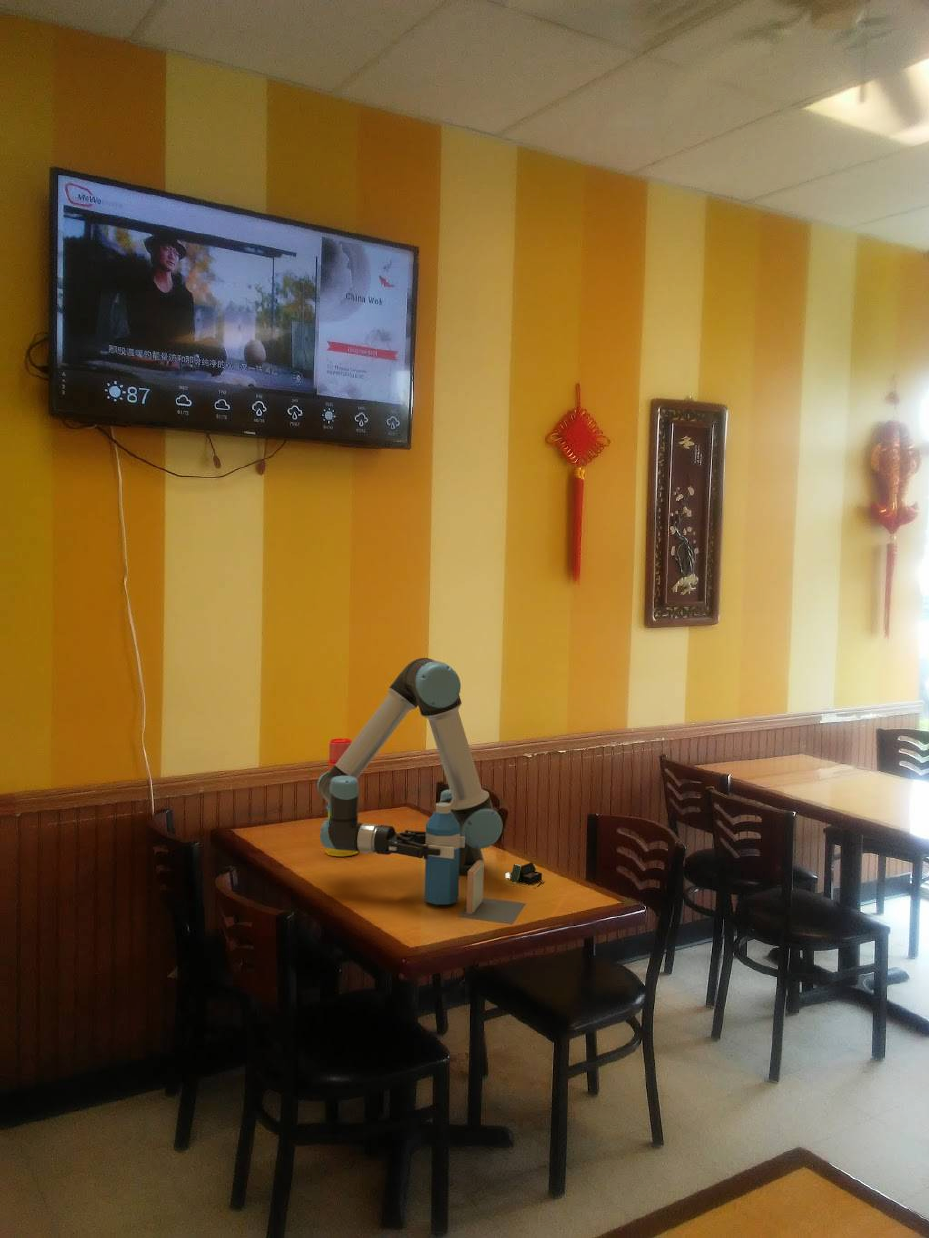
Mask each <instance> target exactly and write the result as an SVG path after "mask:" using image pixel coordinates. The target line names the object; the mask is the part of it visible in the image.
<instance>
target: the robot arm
mask: <svg viewBox="0 0 929 1238" xmlns="http://www.w3.org/2000/svg"><path fill="white" fill-rule="evenodd" d="M461 687H462V686H461V680H460V677H459V675H458V673H457V672H456V671H455V670H454V669H453V668H452V667H451V666H450V665H448V664H447V663H445V662H441V661H438V660H434V659H432V658H428V657H419V658H416V659H414V660H412V661H411V662H409V663H408V664H407V665H406V666H404V668H403V669H402V670H401V672H400V673H399V674H398V675H397V677H396V678H395V679H394V681H393V682H392V683H391V685H390V686H389V687H388V694H387V696H385V699H384V700H383V701H382V702H381V704H380V705H379V707H378V708H377V709H376V710H375V711H374V713H373V714H372V716H371V717H370V718H369V720H367V722H366V724H365V725H364V726H363V727H362V729H361V730H360V731H359V732H358V734H357V735H356V736H355V738H354V739H353V741H352V743H351V744H350V746H349V747H348V748H347V750H346V751H345V752H344V754H343V755H342V756H341V758H340V759H339V760H338V761H337V763H336V764H335V765H334V766H333V768H332V769H331V770H330V771H329V770H328V771H326V772H324V773H323V774H321V775H319V778H318V780H317V784H316V785H317V791H318V792H319V794H320V796H321V797H322V798H323V799H324V800H325V801H326V802H327V803H329V804H330V820H328V819H326V820H324V821H323V823H322V824H321V827H320V832H319V839H320V843H321V845H322V847H324V848H326V849H328V848H331V849H336V850H347V851H358V853H359V852H360V853H365V854H366V855H369V854H375V853H376V854H378V855H386V856H388V855H389V856H390V855H391V854H396V855H397V854H398V855H403V856H408V857H413V858H417V859H423V860H425V859H428V855H429V856H433V857H442V858H452V859H453V858H454V847H445V846H436V845H429V848H428V846H426V830H425V831H424V830H423V831H421V830H410V829H406V830H404V832H403V831H401V832H400V833H397V832H396V829H395V827H394V826H392V825H386V824H385V825H384V824H380V825H379V824H374V823H366V822H363V823H362V822H359V820H358V819H359V794H360V788H359V780H358V779H359V778H360V776H361V775H362V773H363V772H364V771H365V770H366V769H367V767H368V766H369V764H370V763H371V762H372V760H373V759H374V758H375V757H376V756H377V754H378V752H379V751H381V748H383V746H384V745H385V744H386V742H388V740H389V738H391V736H392V735H393V733H394V732H395V731H396V729H397V728H398V727H399V725H400V724H401V722H402V721H403V720H404V719H405V717H406V716H407V715H408V713H409V712H410V711H412V710H416V709H417V708H418V709H419V713H420V715H421V716H422V717H423V718H425V719H427V720H428V723H429V726H430V729H431V730H430V731H431V733H432V736H433V739H434V742H435V745H436V749H437V751H438V755H439V759H440V762H441V765H442V769H443V772H444V774H445V778H446V782H447V785H448V789H445V790H443V791H441V793H440V800H439V803H450V804H451V813H452V814H453V816H454V817H455V818H456V820H457V821H458V823H459V826H460V846H459V876H461V875H462V876H464V875H468V871H469V869H470V868H471V867H472V866H473V865H474V864H475V863H476V862H477V861H478V860H481V861H483V863H484V864H485V859H484V855H483V852H482V850H483V849H487V848H489V847H491V846H492V845H494V844H495V843H496V842H497V841H498V840H499V838H500V836H501V834H502V831H503V820H502V818H501V816H500V814H499V813H498V812H497V810H494V806H493V803H492V800H491V796H490V793H489V791H487V790H485V789H483V788H482V785H481V781H480V778H479V774H478V771H477V767H476V764H475V763H474V758H473V756H472V752H471V748H470V746H469V742H468V739H467V735H466V732H465V728H464V724H463V722H462V718H461V716H460V715H461V714H460V712H459V709H460V707H461V706H462V704H463V703H462V700H461V696H460V693H461ZM481 849H482V850H481Z"/></svg>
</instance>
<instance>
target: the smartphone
mask: <svg viewBox="0 0 929 1238" xmlns="http://www.w3.org/2000/svg"><path fill="white" fill-rule="evenodd" d="M511 869H512V871H511V872H506V873H505V878H506V879H507V878H509V881H512V882H511V883H514V882H516V883H515V884H518V882H519V886H520V885H521V887H523V886H525V887H524V888H526V886H527V884H528V886H531V885H533V883H534V884H536V883H538V881H539V883H538V884H537V885H538V886H537V885H536V886H537V888H538V887H540V886H542V885H544V883H545V882H544V883H542V882H541V881H542V880H543V878H542V877H543V873H542V872H539V871H536V870H537V868H536V867H535V864H533V862H527V863H526V864H523V865H519V864H517V863H514V864H513V866H512V868H511ZM518 879H519V880H518ZM540 880H541V881H540ZM520 882H521V884H520ZM535 882H536V883H535ZM524 883H525V885H524ZM522 884H523V885H522ZM536 886H534V888H533V889H536V888H535V887H536Z"/></svg>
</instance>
